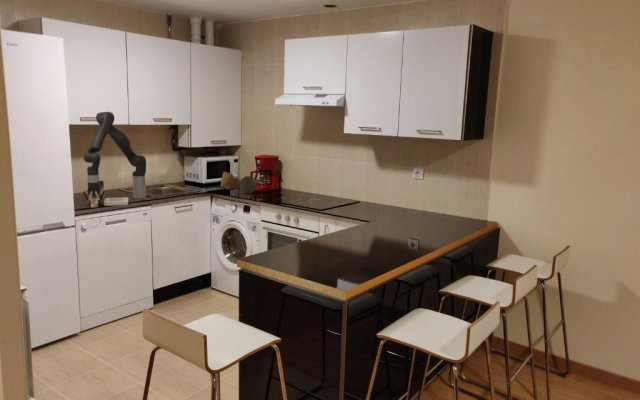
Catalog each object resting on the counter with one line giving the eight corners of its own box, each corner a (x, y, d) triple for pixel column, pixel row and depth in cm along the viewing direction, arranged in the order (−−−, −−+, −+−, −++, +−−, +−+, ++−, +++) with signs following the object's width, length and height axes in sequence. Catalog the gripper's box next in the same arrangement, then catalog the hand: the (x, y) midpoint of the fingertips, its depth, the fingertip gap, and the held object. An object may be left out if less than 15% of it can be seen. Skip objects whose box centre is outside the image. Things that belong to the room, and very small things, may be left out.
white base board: (128, 200, 367) (128, 197, 367) (128, 204, 353) (127, 201, 352) (105, 201, 362) (105, 197, 361) (104, 205, 347) (103, 201, 347)
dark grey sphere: (248, 195, 405) (249, 178, 402) (236, 193, 412) (236, 176, 410) (259, 193, 417) (259, 176, 414) (247, 191, 424) (247, 174, 421)
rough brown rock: (241, 191, 431) (242, 174, 429) (222, 189, 426) (223, 172, 424) (237, 187, 453) (239, 171, 451) (219, 186, 448) (221, 170, 446)
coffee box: (92, 204, 351) (91, 182, 348) (88, 202, 354) (87, 181, 351) (104, 202, 358) (103, 180, 355) (100, 201, 362) (99, 179, 359)
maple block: (98, 205, 346) (98, 197, 345) (98, 207, 342) (97, 198, 341) (91, 205, 344) (91, 197, 343) (90, 207, 340) (90, 198, 339)
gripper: (104, 180, 346) (105, 203, 349) (82, 180, 341) (83, 204, 344) (104, 182, 339) (105, 205, 342) (81, 182, 334) (82, 206, 337)
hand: (94, 205), depth 343 cm, fingers closed on maple block, 4 cm apart
